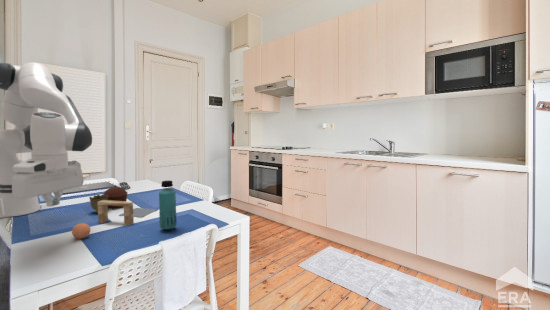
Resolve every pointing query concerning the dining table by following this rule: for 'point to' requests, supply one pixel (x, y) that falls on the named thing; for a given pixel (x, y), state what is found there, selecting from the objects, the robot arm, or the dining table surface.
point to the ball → (81, 231)
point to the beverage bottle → (167, 206)
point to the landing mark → (141, 212)
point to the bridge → (104, 209)
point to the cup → (95, 199)
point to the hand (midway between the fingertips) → (53, 205)
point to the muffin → (116, 196)
